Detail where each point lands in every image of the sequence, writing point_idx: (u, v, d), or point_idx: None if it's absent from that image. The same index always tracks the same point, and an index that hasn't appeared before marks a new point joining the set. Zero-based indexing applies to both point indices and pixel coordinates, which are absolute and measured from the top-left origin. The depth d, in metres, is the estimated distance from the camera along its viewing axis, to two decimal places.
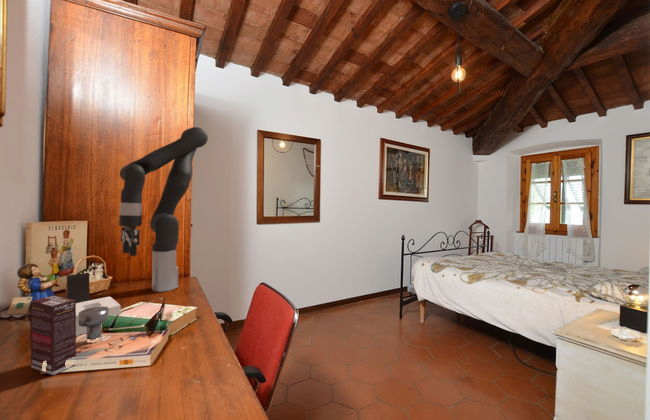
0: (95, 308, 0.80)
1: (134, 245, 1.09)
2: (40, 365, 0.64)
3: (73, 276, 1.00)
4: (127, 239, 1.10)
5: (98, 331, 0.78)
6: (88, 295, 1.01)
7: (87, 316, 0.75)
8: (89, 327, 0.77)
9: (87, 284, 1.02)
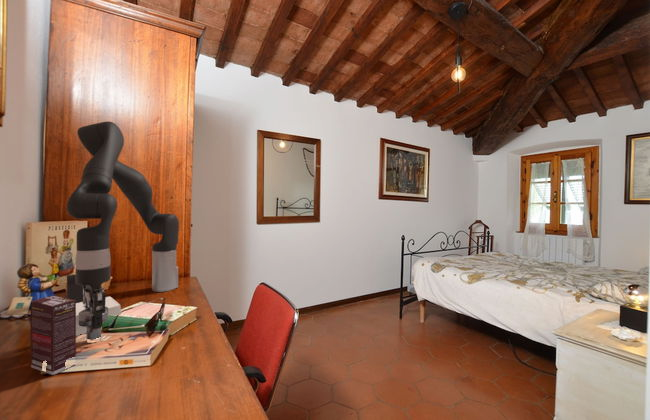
0: None
1: (98, 314, 0.75)
2: (40, 365, 0.64)
3: (73, 276, 1.00)
4: (88, 305, 0.75)
5: (98, 331, 0.78)
6: None
7: (87, 316, 0.75)
8: (89, 327, 0.77)
9: None
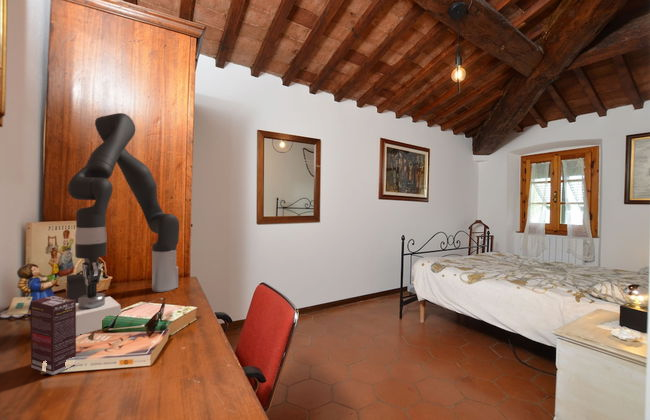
0: None
1: (92, 284, 0.86)
2: (40, 365, 0.64)
3: (73, 276, 1.00)
4: (85, 276, 0.86)
5: None
6: None
7: (85, 300, 0.85)
8: None
9: None
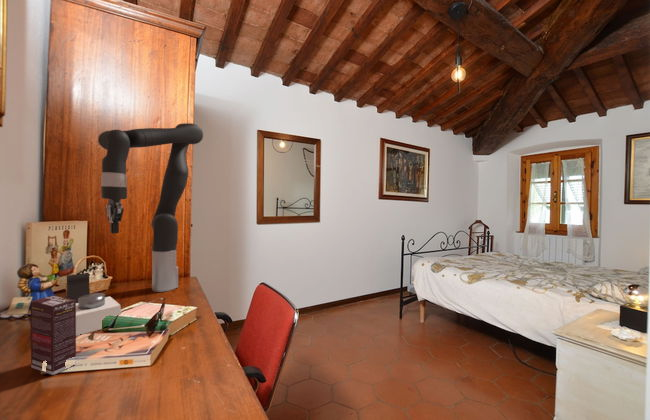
0: (93, 294, 0.90)
1: (115, 221, 1.01)
2: (40, 365, 0.64)
3: (73, 276, 1.00)
4: (109, 214, 1.00)
5: None
6: None
7: (85, 300, 0.85)
8: None
9: (87, 284, 1.02)
